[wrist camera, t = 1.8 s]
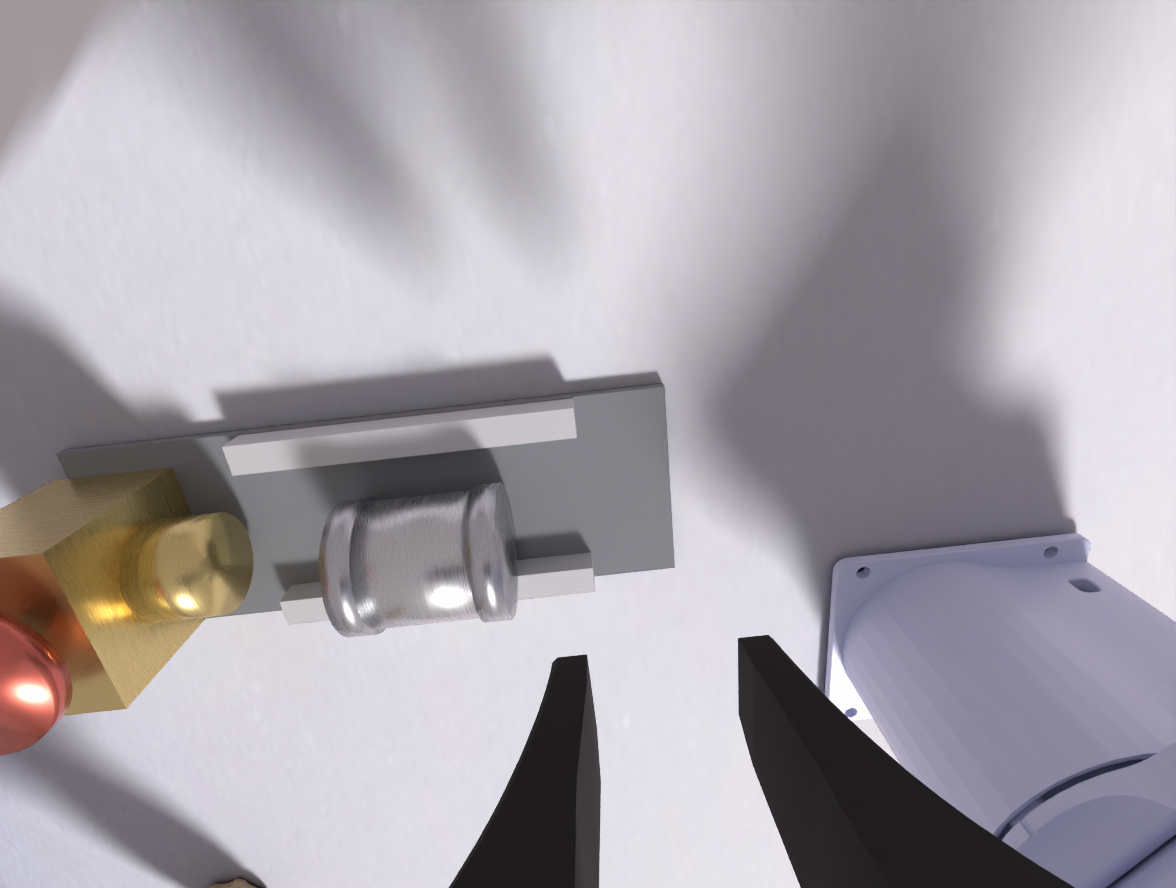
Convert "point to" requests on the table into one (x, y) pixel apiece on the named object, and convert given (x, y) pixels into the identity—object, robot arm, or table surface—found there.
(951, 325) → the table surface
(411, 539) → the coupling
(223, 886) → the handle
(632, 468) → the grey railed tray
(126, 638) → the valve
